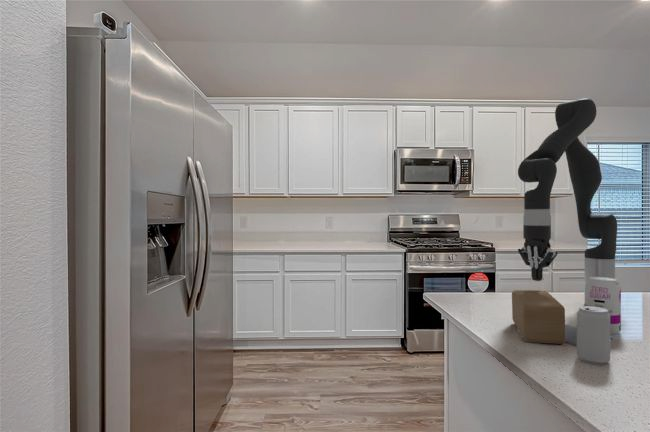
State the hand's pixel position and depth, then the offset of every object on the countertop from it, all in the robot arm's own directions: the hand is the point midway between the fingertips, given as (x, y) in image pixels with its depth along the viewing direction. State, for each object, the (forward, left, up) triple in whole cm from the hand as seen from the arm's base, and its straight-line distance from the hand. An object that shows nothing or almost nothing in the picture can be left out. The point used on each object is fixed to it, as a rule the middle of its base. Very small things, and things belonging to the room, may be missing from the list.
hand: (536, 280), depth 125 cm
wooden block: (+3, 0, -8) cm, 8 cm away
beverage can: (+15, +28, -13) cm, 35 cm away
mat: (+2, +10, -13) cm, 17 cm away
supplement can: (-10, +13, -13) cm, 21 cm away
